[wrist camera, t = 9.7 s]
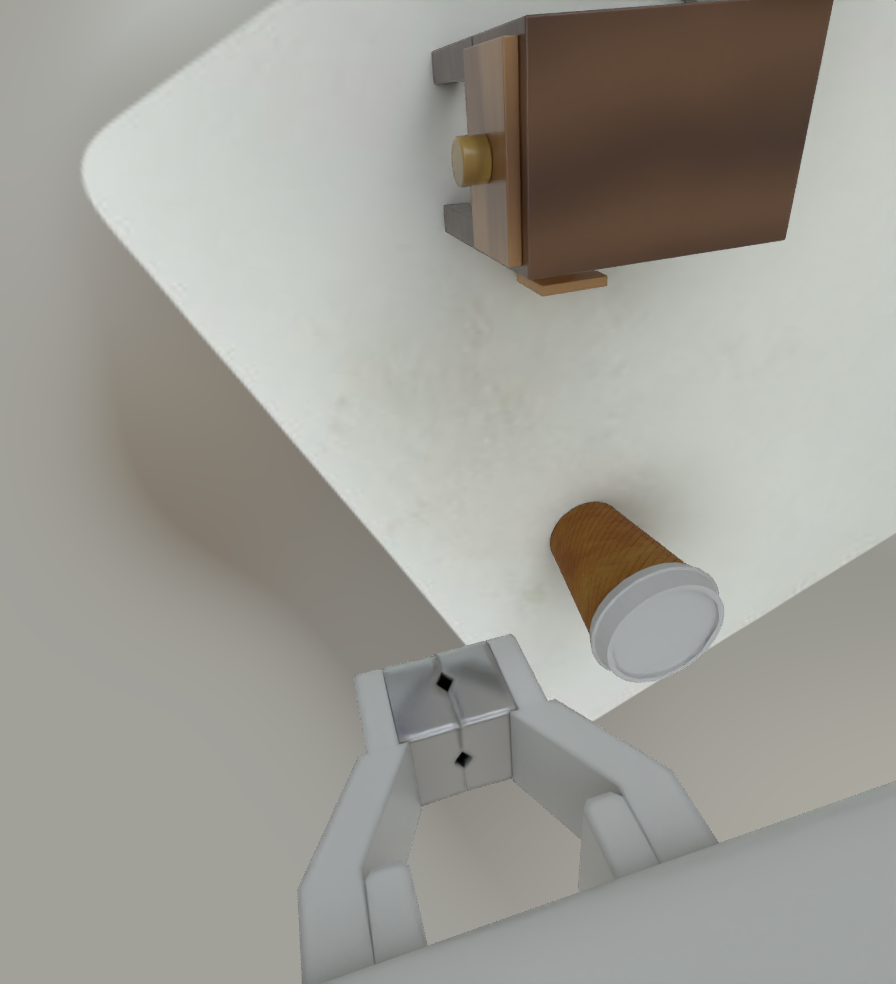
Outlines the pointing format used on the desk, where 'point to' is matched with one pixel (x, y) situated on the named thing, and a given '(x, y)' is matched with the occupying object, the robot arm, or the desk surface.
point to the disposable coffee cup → (634, 595)
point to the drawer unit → (632, 131)
